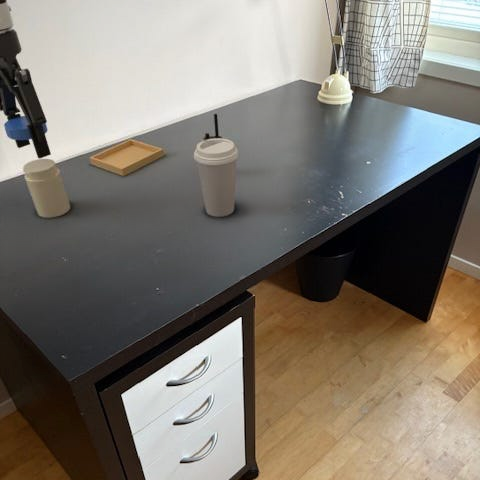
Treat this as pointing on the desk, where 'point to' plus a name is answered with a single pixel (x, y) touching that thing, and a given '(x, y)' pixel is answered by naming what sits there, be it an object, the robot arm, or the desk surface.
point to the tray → (126, 157)
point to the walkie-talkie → (215, 130)
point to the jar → (46, 188)
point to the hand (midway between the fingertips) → (34, 150)
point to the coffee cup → (217, 174)
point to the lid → (19, 128)
